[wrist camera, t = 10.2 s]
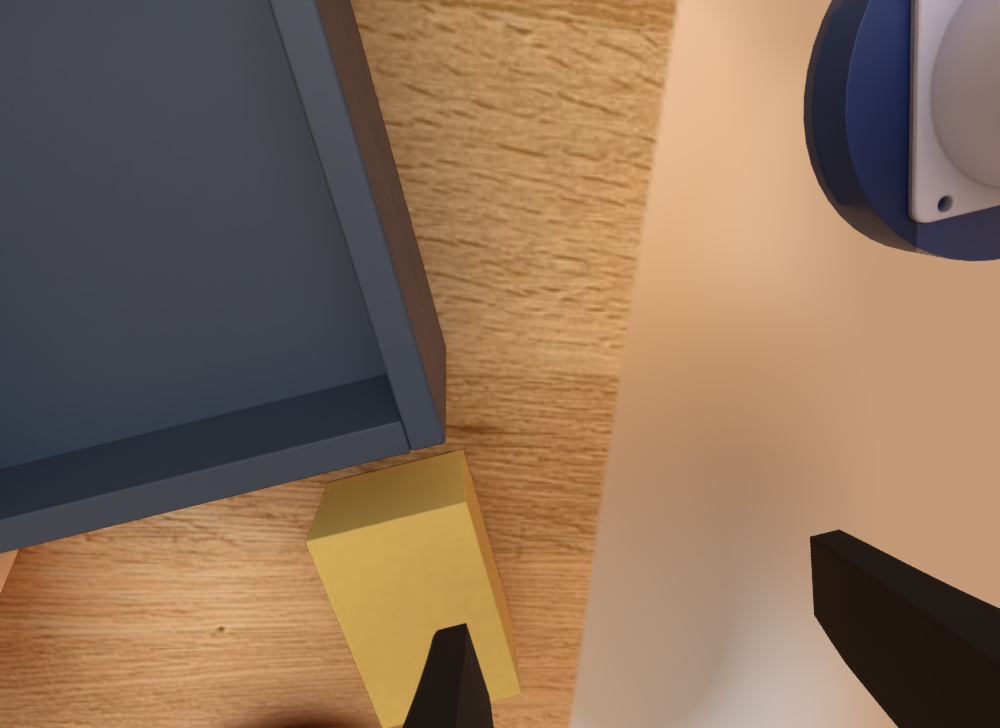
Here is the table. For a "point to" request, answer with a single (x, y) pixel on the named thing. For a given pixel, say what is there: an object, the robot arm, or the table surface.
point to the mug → (6, 565)
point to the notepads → (412, 576)
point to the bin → (198, 261)
